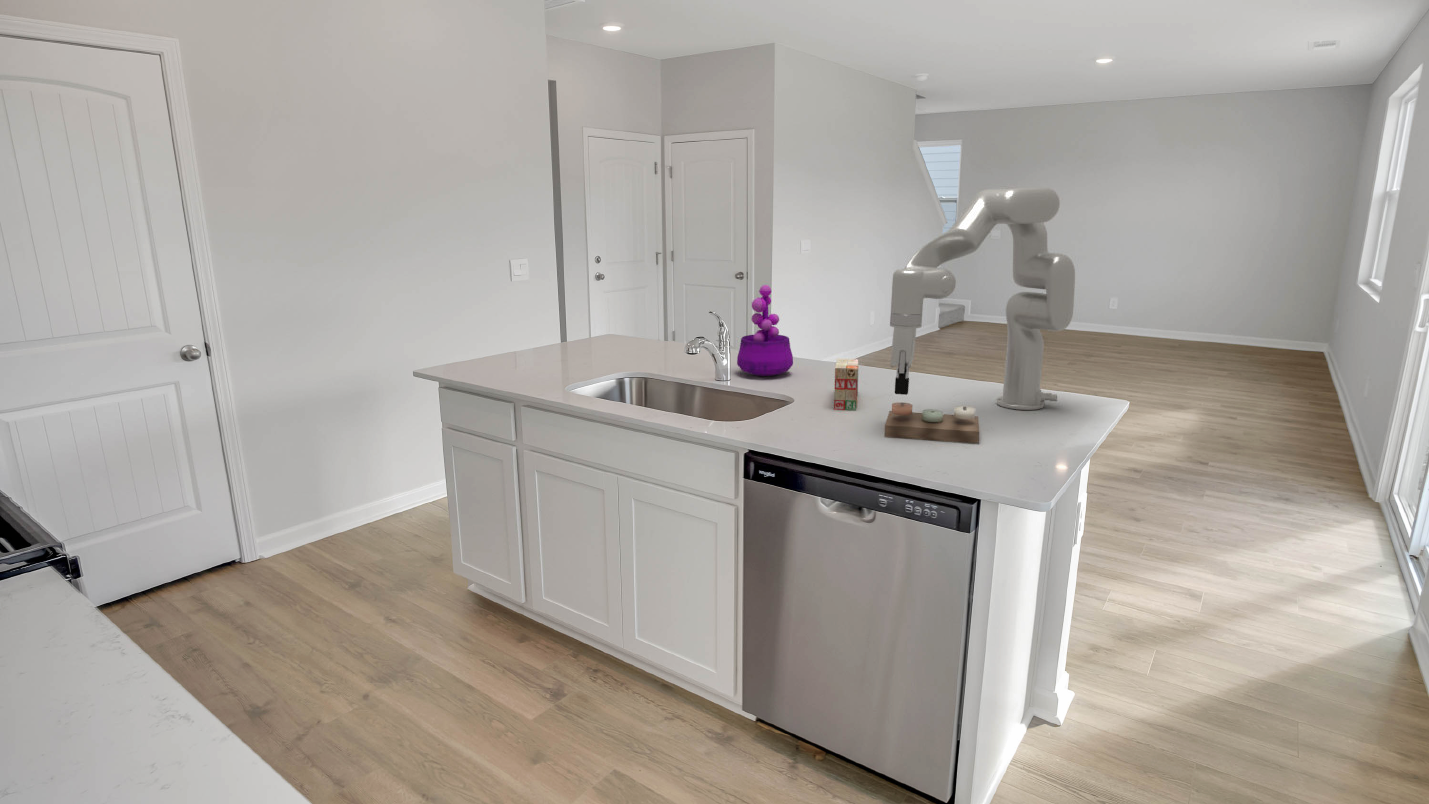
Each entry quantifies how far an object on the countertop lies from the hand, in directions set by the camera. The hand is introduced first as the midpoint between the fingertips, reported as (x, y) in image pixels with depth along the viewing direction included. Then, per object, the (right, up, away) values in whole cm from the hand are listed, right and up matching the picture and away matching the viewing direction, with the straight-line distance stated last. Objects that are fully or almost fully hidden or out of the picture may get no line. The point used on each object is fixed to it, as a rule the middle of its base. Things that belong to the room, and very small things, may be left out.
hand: (901, 393), depth 194 cm
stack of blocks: (-8, -2, +32) cm, 33 cm away
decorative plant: (-30, +7, +68) cm, 75 cm away
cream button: (+15, -6, -3) cm, 16 cm away
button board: (+8, -10, +1) cm, 12 cm away
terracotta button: (0, -5, +1) cm, 5 cm away
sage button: (+8, -7, 0) cm, 10 cm away
